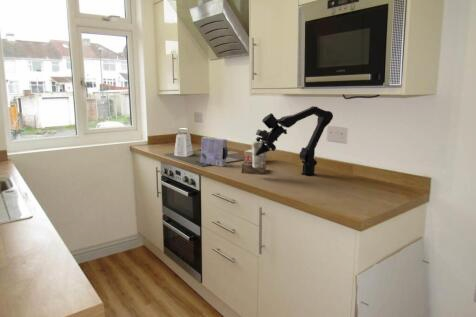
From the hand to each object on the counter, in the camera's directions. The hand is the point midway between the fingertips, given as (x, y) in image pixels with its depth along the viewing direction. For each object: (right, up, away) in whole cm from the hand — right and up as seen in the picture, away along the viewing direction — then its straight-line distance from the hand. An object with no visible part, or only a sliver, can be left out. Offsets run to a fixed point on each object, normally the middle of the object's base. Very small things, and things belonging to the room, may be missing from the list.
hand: (255, 154), depth 194 cm
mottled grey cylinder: (+1, -7, +2) cm, 7 cm away
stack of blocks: (+2, -5, +44) cm, 45 cm away
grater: (-51, 0, +69) cm, 86 cm away
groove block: (0, -10, +18) cm, 21 cm away
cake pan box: (-25, -6, +36) cm, 45 cm away
